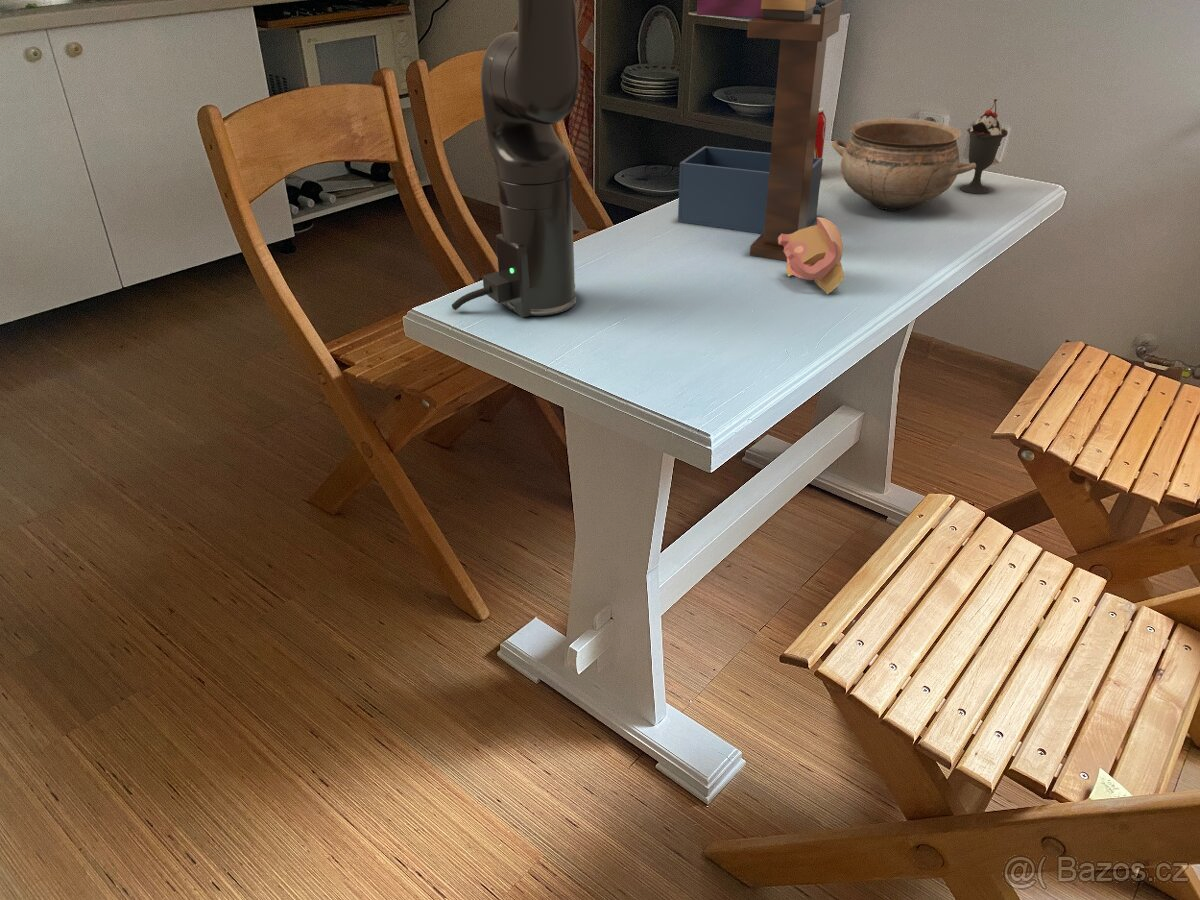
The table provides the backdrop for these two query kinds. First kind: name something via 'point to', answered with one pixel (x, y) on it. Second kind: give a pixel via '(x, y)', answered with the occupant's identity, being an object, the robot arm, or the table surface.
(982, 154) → the sundae
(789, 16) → the brush
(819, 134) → the soda can
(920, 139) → the cooking pot
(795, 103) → the dark wooden post
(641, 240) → the table surface
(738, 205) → the blue open box
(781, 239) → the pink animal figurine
